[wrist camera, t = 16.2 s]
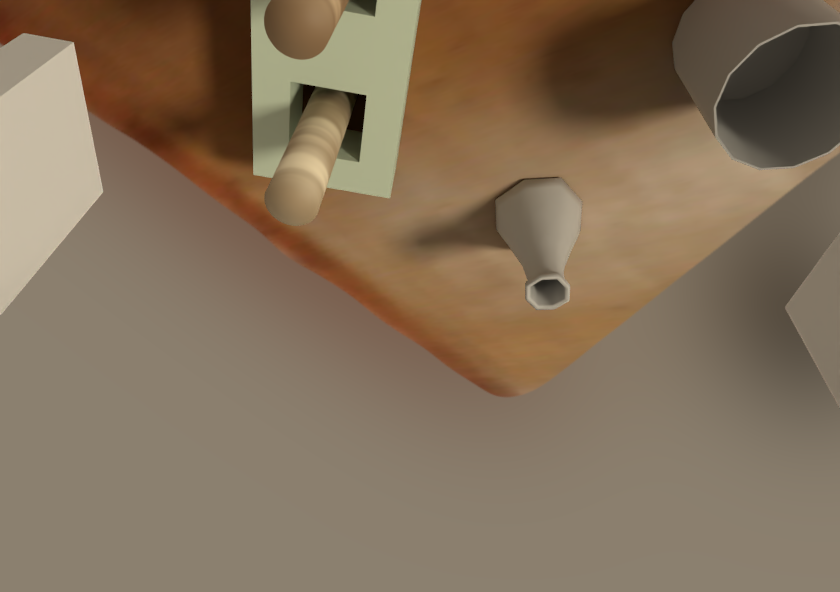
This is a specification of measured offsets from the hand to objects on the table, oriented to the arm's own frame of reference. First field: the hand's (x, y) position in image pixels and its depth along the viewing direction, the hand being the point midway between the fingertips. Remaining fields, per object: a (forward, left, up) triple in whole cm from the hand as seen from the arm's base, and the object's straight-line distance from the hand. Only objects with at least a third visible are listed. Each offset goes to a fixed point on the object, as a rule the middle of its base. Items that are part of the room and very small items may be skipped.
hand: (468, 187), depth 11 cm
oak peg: (+5, -7, -35) cm, 36 cm away
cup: (+6, +19, -35) cm, 40 cm away
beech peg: (+15, -7, -35) cm, 38 cm away
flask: (+22, +10, -35) cm, 43 cm away
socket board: (+10, -7, -35) cm, 37 cm away
